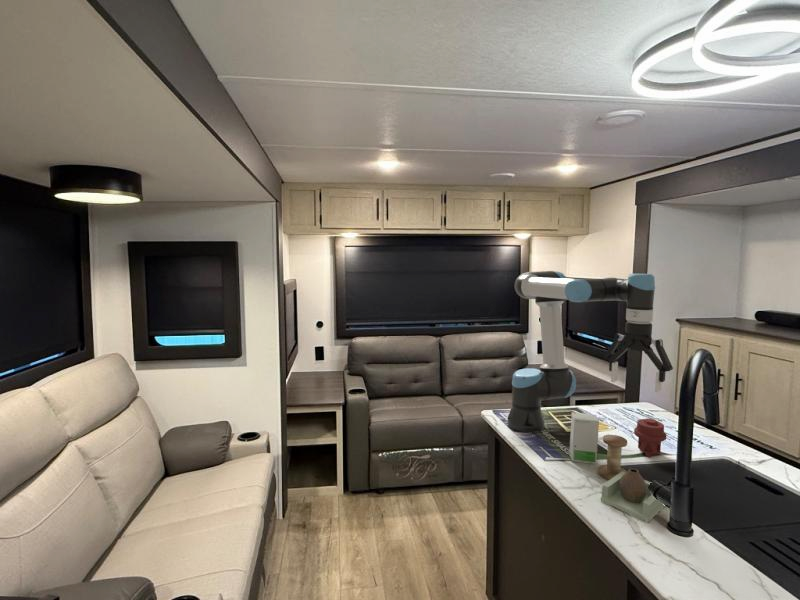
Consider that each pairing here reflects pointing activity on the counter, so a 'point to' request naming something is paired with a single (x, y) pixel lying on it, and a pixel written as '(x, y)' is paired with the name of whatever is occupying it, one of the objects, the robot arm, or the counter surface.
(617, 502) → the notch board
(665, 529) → the counter surface
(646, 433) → the mechanical component
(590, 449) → the skincare box
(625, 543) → the counter surface
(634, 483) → the vase
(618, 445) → the bobbin
